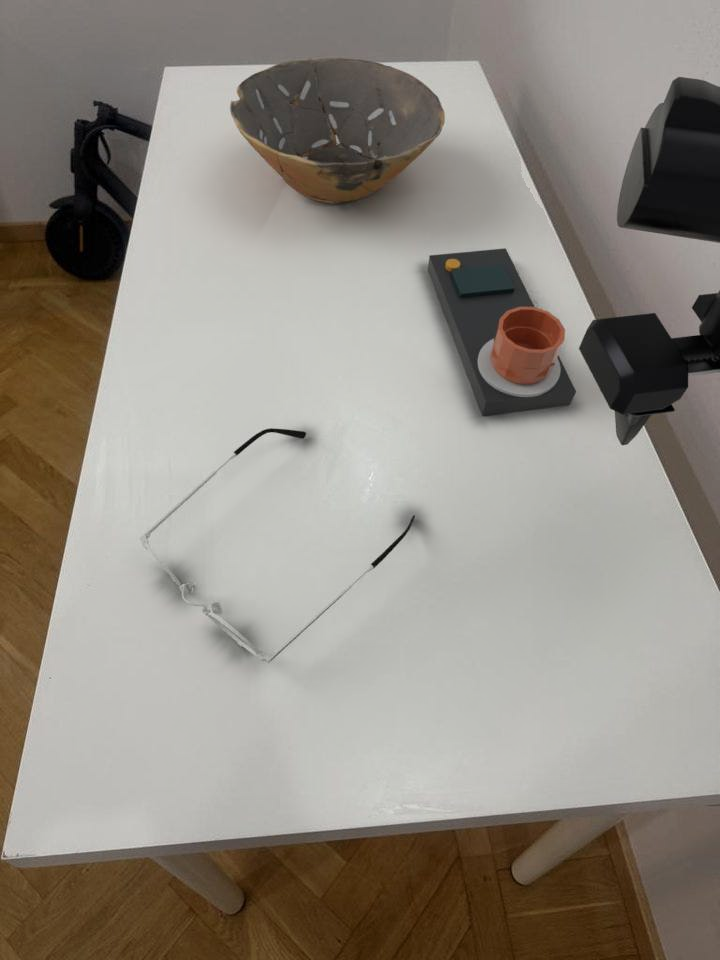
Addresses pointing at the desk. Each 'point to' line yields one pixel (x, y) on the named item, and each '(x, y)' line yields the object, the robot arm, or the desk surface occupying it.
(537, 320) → the terracotta cup
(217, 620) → the eyeglasses
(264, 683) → the desk surface
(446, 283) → the scale
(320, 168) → the bowl
